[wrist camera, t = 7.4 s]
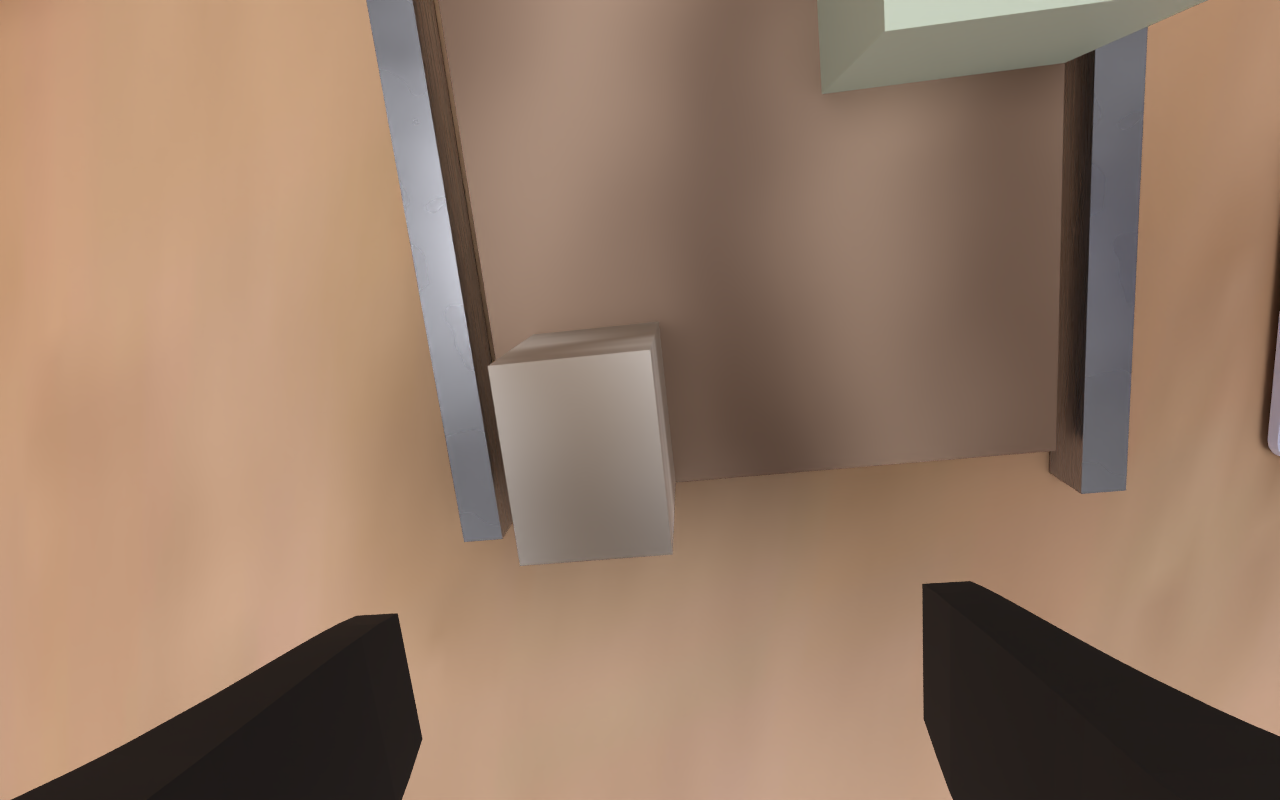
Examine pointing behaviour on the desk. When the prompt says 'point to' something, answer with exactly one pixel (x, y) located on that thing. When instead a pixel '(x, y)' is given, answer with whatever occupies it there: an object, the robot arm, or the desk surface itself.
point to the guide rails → (1089, 259)
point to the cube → (967, 36)
